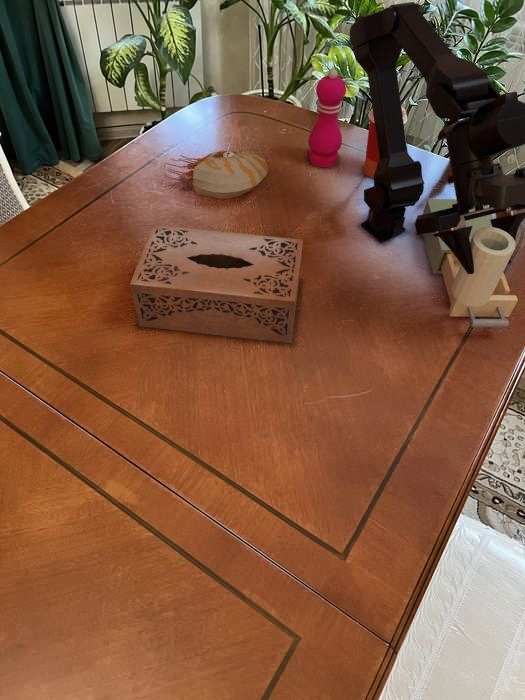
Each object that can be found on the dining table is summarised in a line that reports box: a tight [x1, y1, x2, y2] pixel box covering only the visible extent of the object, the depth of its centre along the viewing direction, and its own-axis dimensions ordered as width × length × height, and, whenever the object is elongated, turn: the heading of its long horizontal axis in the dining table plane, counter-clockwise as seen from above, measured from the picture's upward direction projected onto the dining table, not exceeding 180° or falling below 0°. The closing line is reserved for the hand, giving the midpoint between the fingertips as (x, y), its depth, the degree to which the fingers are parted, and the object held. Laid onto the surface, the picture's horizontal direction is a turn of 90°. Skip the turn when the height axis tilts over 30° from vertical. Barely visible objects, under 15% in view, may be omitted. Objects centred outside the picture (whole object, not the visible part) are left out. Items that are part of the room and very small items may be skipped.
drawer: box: [440, 253, 519, 329], centre depth 99 cm, size 18×10×4 cm, turn 0°
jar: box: [452, 227, 516, 307], centre depth 87 cm, size 6×6×11 cm
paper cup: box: [363, 105, 408, 179], centre depth 119 cm, size 8×8×14 cm
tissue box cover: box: [129, 223, 304, 344], centre depth 96 cm, size 26×14×10 cm, turn 83°
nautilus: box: [164, 150, 269, 200], centre depth 118 cm, size 8×22×15 cm
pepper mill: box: [308, 68, 347, 168], centre depth 119 cm, size 7×7×20 cm
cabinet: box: [421, 198, 494, 275], centre depth 108 cm, size 14×11×6 cm
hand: (489, 268), depth 85 cm, fingers closed on jar, 6 cm apart
